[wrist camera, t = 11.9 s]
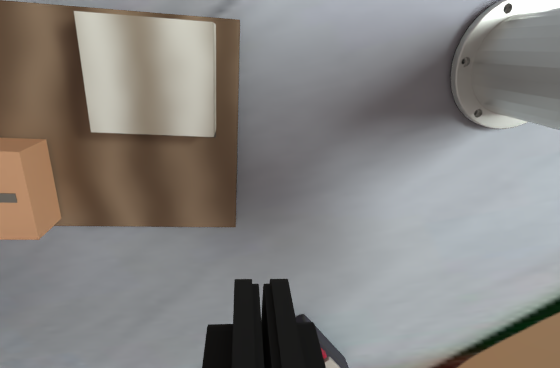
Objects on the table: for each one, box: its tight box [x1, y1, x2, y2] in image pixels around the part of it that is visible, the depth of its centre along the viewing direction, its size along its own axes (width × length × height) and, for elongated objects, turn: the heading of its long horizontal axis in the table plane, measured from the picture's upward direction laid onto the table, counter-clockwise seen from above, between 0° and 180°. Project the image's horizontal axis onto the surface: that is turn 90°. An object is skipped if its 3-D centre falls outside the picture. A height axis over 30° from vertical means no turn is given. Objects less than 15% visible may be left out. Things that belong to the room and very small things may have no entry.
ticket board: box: [0, 0, 240, 227], centre depth 30 cm, size 28×20×4 cm
